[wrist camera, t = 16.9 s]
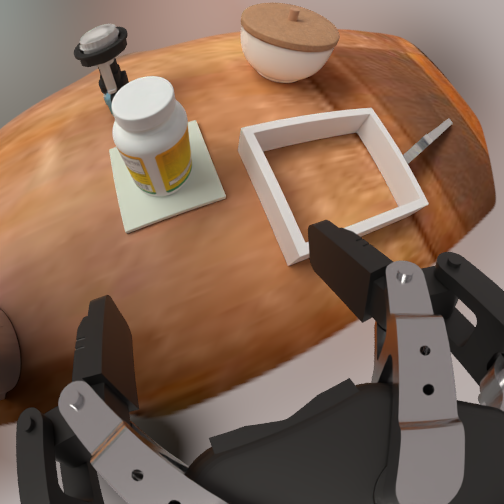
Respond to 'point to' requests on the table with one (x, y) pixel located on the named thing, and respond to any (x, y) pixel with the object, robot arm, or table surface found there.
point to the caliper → (426, 141)
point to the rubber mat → (185, 199)
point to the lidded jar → (286, 41)
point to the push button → (104, 57)
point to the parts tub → (320, 127)
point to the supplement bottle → (152, 135)
